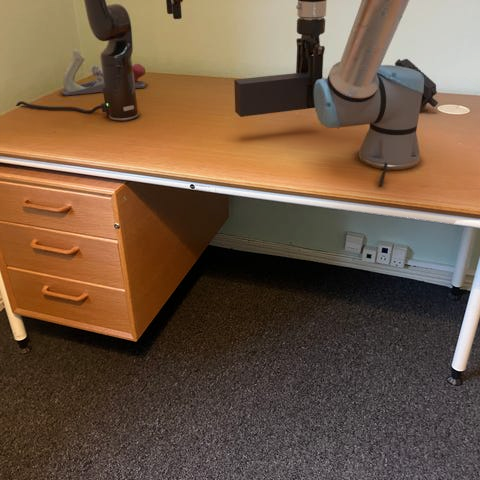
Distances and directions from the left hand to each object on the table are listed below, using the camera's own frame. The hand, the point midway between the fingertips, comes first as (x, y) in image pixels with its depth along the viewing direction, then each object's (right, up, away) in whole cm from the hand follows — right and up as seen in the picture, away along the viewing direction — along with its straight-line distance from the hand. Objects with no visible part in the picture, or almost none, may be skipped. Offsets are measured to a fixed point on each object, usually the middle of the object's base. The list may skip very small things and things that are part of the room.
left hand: (174, 16), depth 146 cm
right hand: (+37, -22, +8) cm, 44 cm away
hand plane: (-32, -5, +53) cm, 62 cm away
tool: (+72, -18, +29) cm, 80 cm away
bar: (+29, -24, +6) cm, 38 cm away
